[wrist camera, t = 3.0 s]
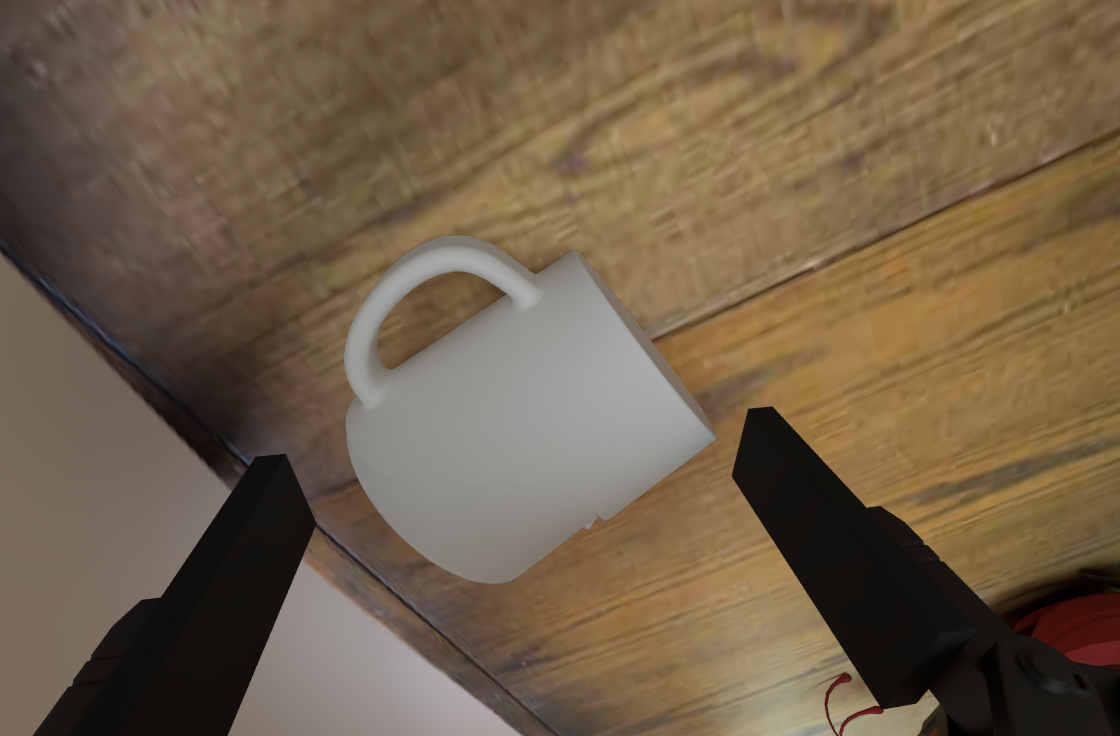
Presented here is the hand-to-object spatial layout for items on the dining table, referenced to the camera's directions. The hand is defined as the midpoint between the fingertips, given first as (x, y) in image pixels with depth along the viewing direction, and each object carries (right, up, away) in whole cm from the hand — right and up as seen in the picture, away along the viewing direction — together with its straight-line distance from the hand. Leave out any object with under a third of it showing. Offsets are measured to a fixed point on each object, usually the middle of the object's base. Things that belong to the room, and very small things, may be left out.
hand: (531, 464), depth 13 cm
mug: (-1, +4, +6) cm, 7 cm away
